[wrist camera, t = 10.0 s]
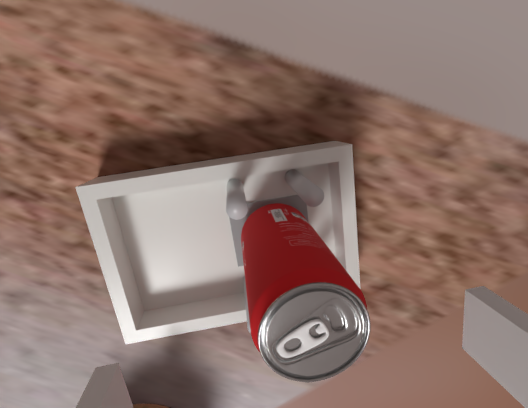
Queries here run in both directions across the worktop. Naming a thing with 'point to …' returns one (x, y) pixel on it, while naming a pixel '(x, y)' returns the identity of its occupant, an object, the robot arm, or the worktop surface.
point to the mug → (148, 406)
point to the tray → (208, 231)
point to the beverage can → (300, 297)
